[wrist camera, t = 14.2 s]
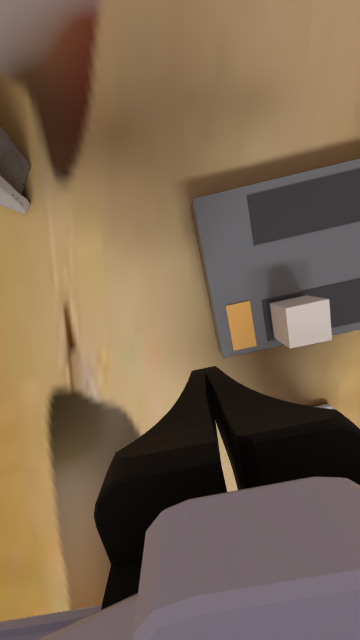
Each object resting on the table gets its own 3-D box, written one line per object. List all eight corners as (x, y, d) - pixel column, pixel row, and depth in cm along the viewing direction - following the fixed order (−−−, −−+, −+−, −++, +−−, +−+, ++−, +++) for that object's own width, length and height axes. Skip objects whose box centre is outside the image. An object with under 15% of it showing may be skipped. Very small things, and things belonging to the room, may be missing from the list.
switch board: (475, 296, 20) (510, 298, 17) (218, 349, 21) (223, 358, 18) (487, 136, 17) (530, 116, 15) (191, 206, 18) (192, 198, 16)
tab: (310, 330, 18) (332, 339, 15) (274, 338, 18) (290, 348, 15) (306, 295, 17) (329, 298, 15) (269, 303, 17) (285, 308, 15)
